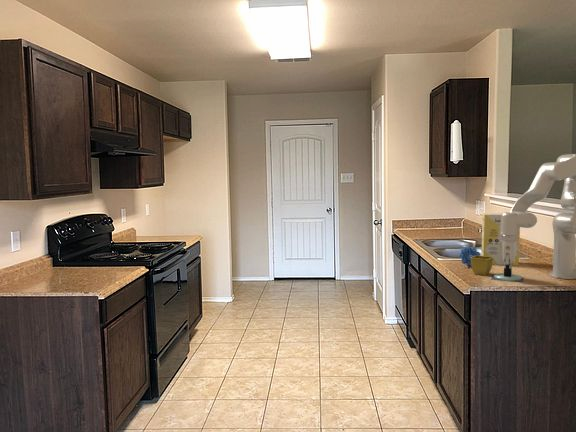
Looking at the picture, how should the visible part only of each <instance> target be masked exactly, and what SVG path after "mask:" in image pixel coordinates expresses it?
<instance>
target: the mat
mask: <svg viewBox="0 0 576 432" xmlns="http://www.w3.org/2000/svg"><path fill="white" fill-rule="evenodd" d="M494 275H495V274H492V276H491V277H490V280H491V281H500V282H504V281H503V280H498V279H495V278H494ZM524 280H525V277H523V276H521V280H520V281H509V282H514V283H522V284H524Z"/></svg>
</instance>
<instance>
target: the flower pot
mask: <svg viewBox="0 0 576 432" xmlns="http://www.w3.org/2000/svg"><path fill="white" fill-rule="evenodd" d="M492 262H493V257H487V256H481V255H480V256H477V255H476V256H473V257H471V267H470V268H471V270H472V273H474V275H478V276H479V275H480V276H486V275H488V274H490V272H491V269H492V267H493V265H492Z"/></svg>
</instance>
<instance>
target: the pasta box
mask: <svg viewBox="0 0 576 432" xmlns="http://www.w3.org/2000/svg"><path fill="white" fill-rule="evenodd" d="M501 215H502V213H499V212H498V213H496V212H495V213H494V212H493V213H492V212H482V218H481V219H482V220H481V221H482V223H481V224H482V225H481V252H480V254H481V255H480V256H487V257H493V262H492V266H493V265H494V266H497V265H498V266H504V265H505V262H503V242H502V241H500V235H501ZM520 233H521V227H518V241H517V242H515V261H514V263H513V262H512V265H511V266H520V265H519V261H520V237H521V235H520Z"/></svg>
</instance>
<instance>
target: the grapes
mask: <svg viewBox="0 0 576 432" xmlns="http://www.w3.org/2000/svg"><path fill="white" fill-rule="evenodd" d="M460 252H461V253H459V254H458V257H459V258H460V259H461V263H462V264H463V265H466V267H468V268H472V267H471V257H473V256H476V255H477V256H481V252H479V251H477V247H475V246H473V247H471V246H470V245H466V246H465V247H461V248H460Z"/></svg>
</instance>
